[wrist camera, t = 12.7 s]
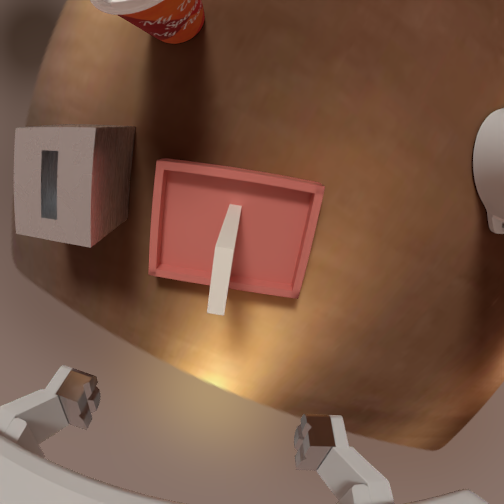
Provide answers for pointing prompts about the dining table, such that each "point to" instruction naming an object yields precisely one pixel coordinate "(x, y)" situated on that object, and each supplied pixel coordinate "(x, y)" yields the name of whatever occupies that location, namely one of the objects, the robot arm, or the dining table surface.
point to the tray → (249, 230)
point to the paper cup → (159, 16)
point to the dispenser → (72, 181)
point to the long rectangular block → (223, 261)
